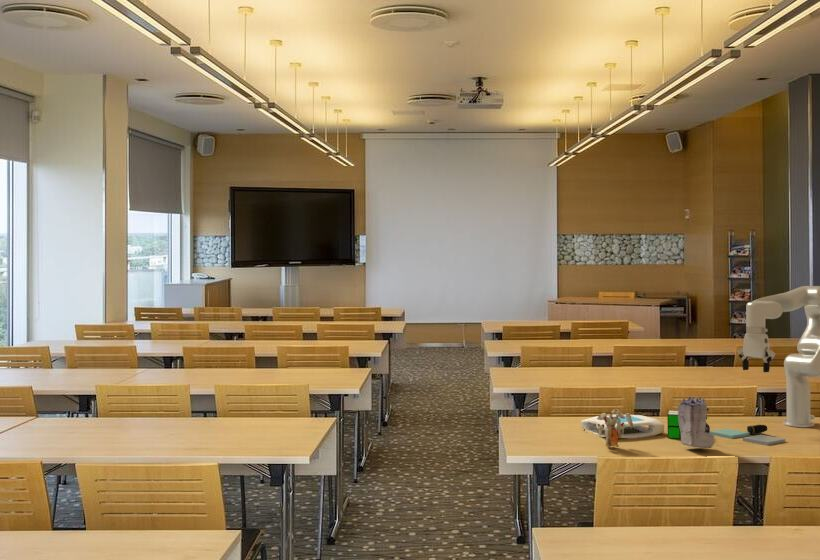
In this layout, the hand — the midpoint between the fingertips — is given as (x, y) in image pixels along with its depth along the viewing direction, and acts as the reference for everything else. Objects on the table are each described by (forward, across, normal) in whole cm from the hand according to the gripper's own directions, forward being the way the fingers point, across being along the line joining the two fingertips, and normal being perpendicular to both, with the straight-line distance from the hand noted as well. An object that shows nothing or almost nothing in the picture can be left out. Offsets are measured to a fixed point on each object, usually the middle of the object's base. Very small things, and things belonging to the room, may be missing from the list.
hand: (755, 370), depth 344 cm
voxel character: (+26, +12, +73) cm, 79 cm away
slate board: (+26, -13, +14) cm, 33 cm away
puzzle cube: (+27, +12, +34) cm, 45 cm away
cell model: (+26, -6, +47) cm, 54 cm away
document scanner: (+27, +31, +48) cm, 63 cm away
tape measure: (+26, -5, +2) cm, 27 cm away
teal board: (+26, +3, +14) cm, 30 cm away
